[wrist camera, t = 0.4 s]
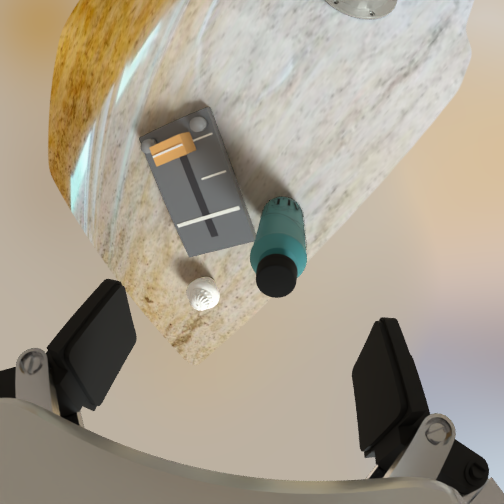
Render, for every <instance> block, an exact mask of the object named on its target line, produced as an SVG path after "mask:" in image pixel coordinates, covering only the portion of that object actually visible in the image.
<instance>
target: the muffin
mask: <svg viewBox="0 0 504 504" xmlns="http://www.w3.org/2000/svg"><path fill="white" fill-rule="evenodd" d="M186 294H187V297H188V299H189V302H190V305H191V306H192V307H193V308H195V309H196V310H199V311H200V310H202V311H203V310H206V309H209V308H212V307H214V306H215V305H216V304H217V303H218V301H219V298H220V295H219V289H218V287H217V285H216V282H215V281H214V280H213V279H212V278H210V277H201V278H198V279H196V280H194V281H192V282H191V283H190V284H189V285H188V287H187V290H186Z"/></svg>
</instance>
